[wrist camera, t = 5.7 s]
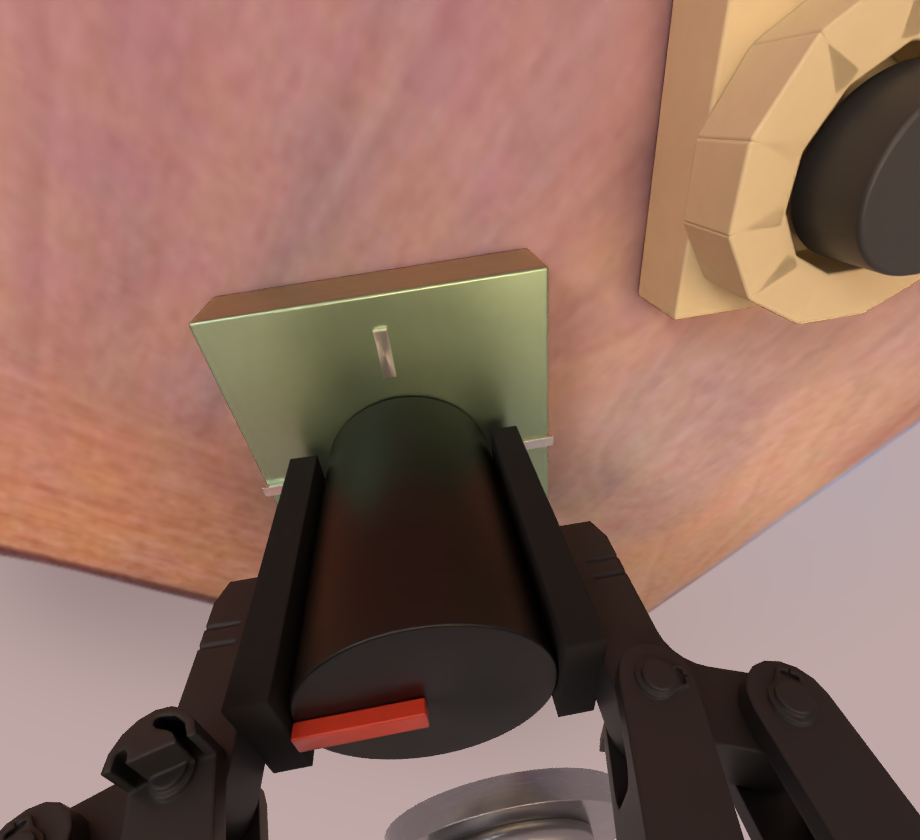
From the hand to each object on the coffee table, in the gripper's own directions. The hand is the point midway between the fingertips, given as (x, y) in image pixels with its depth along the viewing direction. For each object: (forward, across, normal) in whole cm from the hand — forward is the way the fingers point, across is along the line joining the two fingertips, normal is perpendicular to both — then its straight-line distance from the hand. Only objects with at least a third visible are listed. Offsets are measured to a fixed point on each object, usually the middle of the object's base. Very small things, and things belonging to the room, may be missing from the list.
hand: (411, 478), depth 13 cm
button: (-1, +11, +7) cm, 13 cm away
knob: (+1, 0, 0) cm, 1 cm away
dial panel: (+3, 0, 0) cm, 3 cm away
